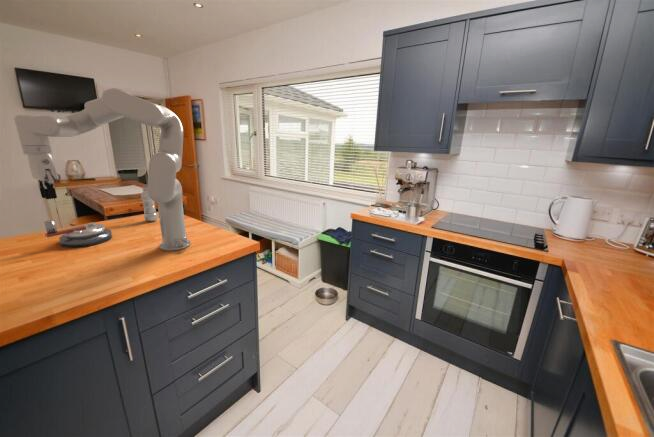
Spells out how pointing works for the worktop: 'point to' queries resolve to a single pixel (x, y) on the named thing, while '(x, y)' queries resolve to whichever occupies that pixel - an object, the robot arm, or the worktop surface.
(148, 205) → the plastic bottle
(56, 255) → the worktop surface
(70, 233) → the crank handle wheel
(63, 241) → the gray plate
